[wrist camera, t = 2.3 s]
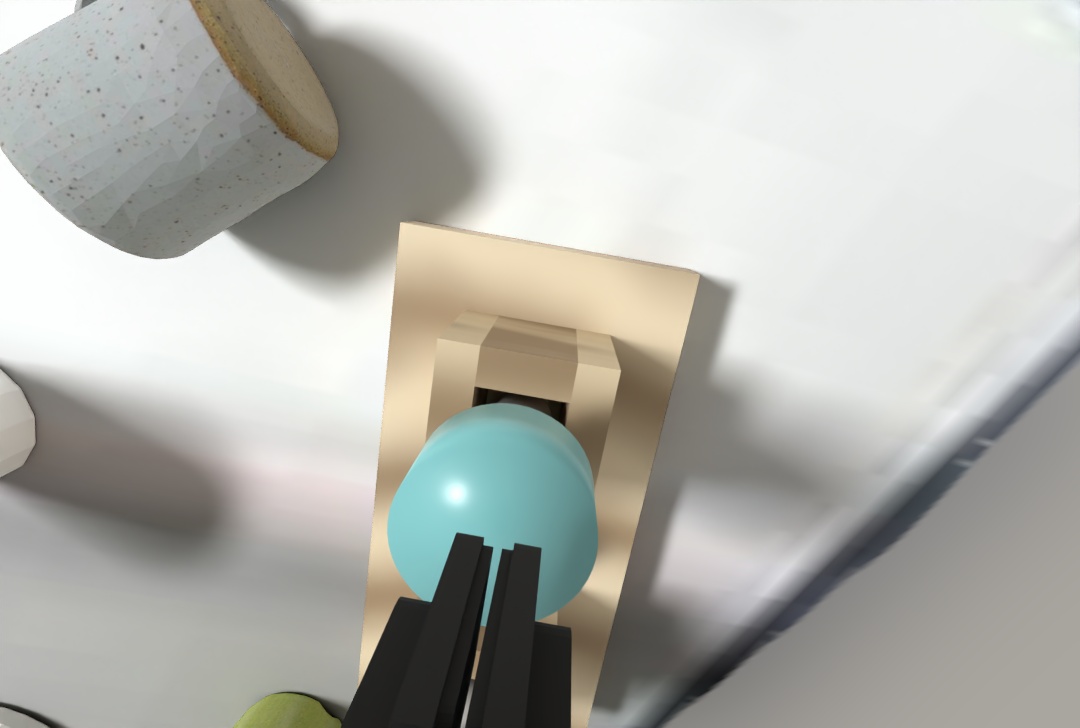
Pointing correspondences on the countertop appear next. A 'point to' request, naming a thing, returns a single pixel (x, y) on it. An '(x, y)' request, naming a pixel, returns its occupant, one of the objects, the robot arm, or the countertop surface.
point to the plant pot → (287, 713)
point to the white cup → (14, 426)
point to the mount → (531, 390)
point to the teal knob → (499, 499)
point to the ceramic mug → (163, 118)
